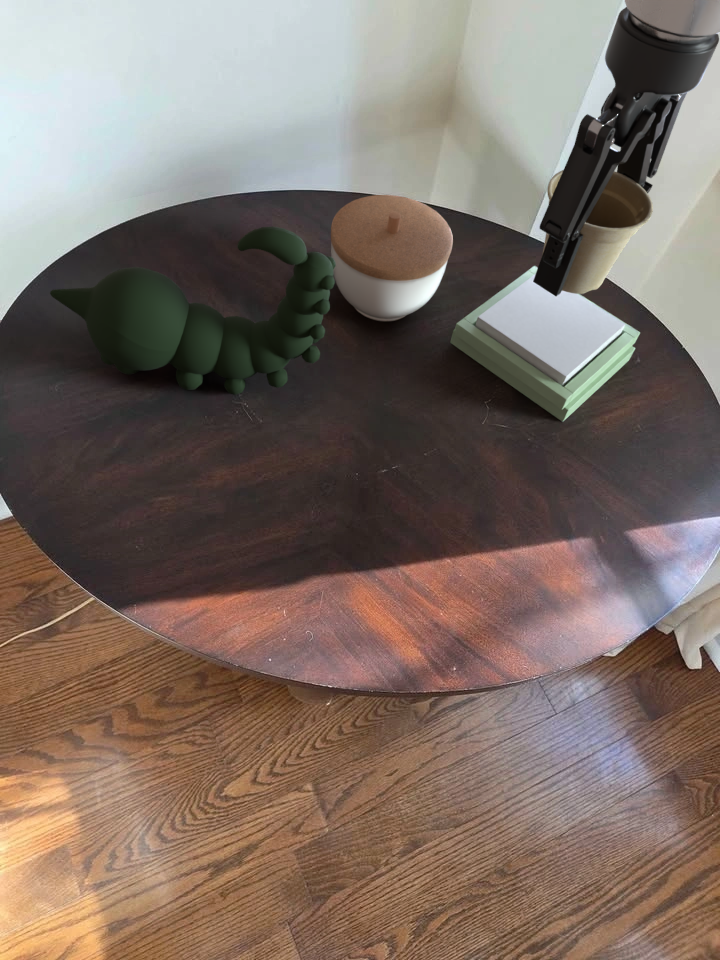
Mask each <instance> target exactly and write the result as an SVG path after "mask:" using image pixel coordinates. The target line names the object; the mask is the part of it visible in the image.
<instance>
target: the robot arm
mask: <svg viewBox="0 0 720 960" xmlns="http://www.w3.org/2000/svg"><path fill="white" fill-rule="evenodd" d="M624 4H625V6H626V7H624V8H622V10H620V12H619V13H618V16H617V18H616V22H615V23H614V27H613V30H612V33H611V36H610V38H609V41H608V44H607V48H606V50H605V54H604V63H605V67H606V68H607V70H608V71H609V73H610V74H611V76H612V78H613V81H614V87H613V88H612V90H611V92H610V93H609V94H608V95H607V96H606V98H605V100H604V102H603V104H602V106H601V109H600V115H599V116H598V117H597V118H596V117H595V116H593V115H591V114H588V113H587V114H585V115H584V117H583V118H582V119H581V121H580V123H579V126H578V129H577V133H576V137H575V141H574V145H573V147H572V149H571V152H570V153H569V156H568V158H567V160H566V164H565V165H564V168H563V169H562V170H563V172H562V175H561V177H560V179H559V182H558V184H557V186H556V189H555V191H554V193H553V196H552V198H551V200H550V203H549V202H548V205H547V208H546V210H545V212H544V215H543V217H542V220H541V222H540V224H539V230H540V231H542V232H544V233H545V234H546V233H547V234H549V238H548V240H547V243H546V246H545V249H544V248H543V249H544V252H543V251H542V254H543V255H541V258H540V260H539V263H538V266H537V268H538V269H537V272H536V275H535V278H534V280H533V282H534V283H536V284H537V285H539V286H540V287H542V288H543V289H545V290H547V291H548V292H550V293H551V294H553V295H554V296H558V295H559V294H560V293H561V291H562V289H563V286H564V283H565V281H566V278H567V276H568V273H569V271H570V268H571V266H572V263H573V261H574V258H575V255H576V253H577V250H578V248H579V245H580V243H581V240H582V238H583V235H582V234H580V231H581V229H582V228H583V226H584V224H585V222H586V220H587V219H588V217H589V215H590V213H591V212H592V210H593V208H594V206H595V204H596V203H597V201H598V199H599V197H600V196H601V194H602V192H603V190H604V189H605V187H606V185H607V183H608V181H609V180H610V178H611V176H612V174H613V173H614V171H615V172H618V173H620V174H623V175H625V176H627V177H628V178H630V179H632V180H634V181H635V182H636V183H638V184H639V185H640V186H641V187H642V188H643V189H644V190H645V191H646V192H647V193H648V194H649V193H650V192H651V190H652V188H653V184H652V183H650V182H649V181H647V178H649V179H652V178H653V177H655V176H656V175H657V173H658V169H659V168H660V167H659V166H660V165H661V162H662V159H663V156H664V154H665V150H666V149H667V145H668V143H669V141H670V137H671V135H672V132H673V129H674V126H675V124H676V121H677V118H678V117H679V116H678V115H679V114H680V110H681V108H682V105H683V102H684V101H685V98H686V96H687V95H688V93H689V92H691V91H693V90H694V89H696V87H698V86H699V85H700V84H701V82H702V80H703V78H704V75H705V73H706V71H707V69H708V66H709V64H710V63H711V60H712V57H713V55H714V54H715V51H716V49H717V47H718V45H719V42H720V36H719V33H720V0H624ZM613 145H614V146H616V147H617V148H620V150H618V149H615V148H613V147H612V146H613Z"/></svg>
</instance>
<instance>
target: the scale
mask: <svg viewBox="0 0 720 960" xmlns="http://www.w3.org/2000/svg"><path fill="white" fill-rule="evenodd" d="M537 269H538V266H536V265H533V266H532V267H531V268H530V269H528V270H526V271H525V272H523V274H521V275H520V276H519V277H516V279H515V280H513V281H512V282H510V283H509V284H508V285H507V286H505V287H504V288H502V289H500V290H499V292H497V293H496V294H494V295H493V296H491V297H490V298H489V299H488V300H486V301H485V302H483V303H482V304H481V305H480V306H478V307H476V308H475V309H474V310H473V311H471V312H470V313H469V314H467V315H466V316H465V317H463V318H461V319H460V320H459V321H457V322H456V323H455V328H454V329H453V330H452V334H451V337H450V344H451V345H453V346H454V347H455V348H457V349H458V350H459V351H461V352H463V353H464V354H465V355H467V356H468V357H470V358H471V359H473V360H474V361H475V362H476V363H478V364H480V365H481V366H482V367H484V368H485V369H486V370H488V371H490V372H491V373H493V374H494V375H495V376H496V377H498V378H499V379H501V380H503V381H504V382H505V383H507V384H508V385H509V386H510V387H513V388H514V389H515V390H516V391H518V392H519V393H521V394H523V395H524V396H525V397H526V398H528V399H529V400H531V401H532V402H533V403H535V404H537V405H538V406H539V407H541V408H542V409H544V410H545V411H546V412H548V413H549V414H551V415H552V416H553V417H555V418H556V419H557V420H559V421H560V422H562V423H563V422H565V421H566V420H567V419H568V418H569V417H570V416H571V415H572V414H573V413H575V411H576V410H577V409H578V408H579V407H581V405H583V404H584V403H585V402H586V401H587V400H588V399H589V398H590V397H592V395H593V394H594V393H596V392H597V391H598V390H599V389H600V388H601V387H602V386H604V384H605V383H607V382H608V381H609V380H610V379H611V378H612V377H613V376H614V375H615V374H616V373H618V372H619V370H621V368H623V367H624V366H625V365H626V364H627V363H628V362H629V361H630V360H631V358H632V356H633V354H634V352H635V350H636V347H635V346H634V345H635V344H636V342H637V340H638V338H639V336H640V334H641V332H640V331H638V330H637V329H636V328H634V327H633V326H631V325H629V324H627V323H626V322H624V321H623V320H621V319H620V318H618V317H617V316H615V315H613V314H612V313H611V312H608V311H607V310H605V309H604V308H602V307H601V306H599V305H597V304H596V303H595V302H593V301H591V300H589V299H588V298H586V297H585V296H583V295H582V294H578V295H580V296H581V297H583V298H584V299H586V300H588V301H589V302H591V303H592V304H594V305H596V306H597V307H599V308H600V309H602V310H603V311H605V312H607V313H608V314H610V315H611V316H613V317H615V318H616V319H618V320H619V321H621V322H622V323H624V324H625V326H624V328H623V330H622V332H621V334H620V335H619V336H618V337H617V338H616V339H615V340H614V341H613V342H612V343H610V344H609V345H608V346H607V347H606V348H605V349H604V350H603V351H601V352H600V353H599V354H598V355H597V356H596V357H595V358H594V359H593V360H591V361H590V362H589V363H588V364H587V365H586V366H585V367H584V368H582V369H581V370H580V371H579V372H578V373H577V374H576V375H575V376H573V377H572V378H571V379H570V380H569V381H568V382H567V383H566V384H564V385H563V386H561V385H560V384H558V383H557V382H555V381H554V380H552V379H551V378H549V377H548V376H547V375H545V374H544V373H542V372H541V371H539V370H538V369H536V368H535V367H533V366H532V365H531V364H529V363H528V362H526V361H525V360H523V359H522V358H520V357H519V356H517V355H516V354H514V353H513V352H512V351H510V350H509V349H507V348H506V347H504V346H503V345H501V344H500V343H498V342H497V341H496V340H494V339H493V338H491V337H490V336H488V335H487V334H485V333H484V332H482V331H481V330H479V329H478V328H477V327H475V325H476V322H477V318H478V316H480V315H481V314H482V313H484V312H485V311H486V310H488V309H489V308H491V307H492V306H493V305H495V304H496V303H497V302H499V301H500V300H501V299H503V298H504V297H505V296H507V295H508V294H509V293H511V292H512V291H513V290H515V289H516V288H517V287H519V286H520V285H521V284H523V283H524V282H525V281H527V280H528V279H529V278H531V277H532V276H533V275H535V274H536V272H537Z"/></svg>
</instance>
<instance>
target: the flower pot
mask: <svg viewBox="0 0 720 960" xmlns="http://www.w3.org/2000/svg"><path fill="white" fill-rule="evenodd" d="M563 170H564V169H562V170H559V171H558V172H556V173H555V174H554V175H553V176H552V177H551V178H550V180H549V182H548V185H547V189H546V191H547V198H548V204H549V203H550V200H551V198H552V196H553V193H554V191H555V189H556V186H557V184H558V182H559V179H560V177H561V175H562V172H563ZM653 213H654V205H653V200H652V198H651V196H650V195H649V193H647V192H646V191H645V190H644V189H643V188H642V187H641V186H640V185H639V184H638V183H636V182H635V181H634V180H632V179H630V178H628V177H627V176H625V175H623V174H620V173H618V172H617V171H616V170H615V171H614V173H613V174H612V176H611V178H610V180H609V181H608V183H607V185H606V187H605V189H604V190H603V192H602V194H601V196H600V197H599V199H598V201H597V203H596V204H595V206H594V208H593V210H592V212H591V213H590V215H589V217H588V219H587V220H586V222H585V224H584V226H583V228H582V229H581V231H580V234H582V235H583V238H582V240H581V243H580V245H579V248H578V250H577V253H576V255H575V258H574V261H573V263H572V266H571V268H570V271H569V273H568V276H567V278H566V281H565V283H564V286H563V289H562V291H565V292H569V293H575V294H580V295H584V294H586V293H588V292H591V291H596V290H598V289H599V288H600V287H601V286H602V284H603V283H604V281H605V279H606V277H607V276H608V274H609V273H610V271H611V269H613V266H614V265H615V263H616V261H617V260H618V258H619V257H620V256H621V254H622V252H623V250H624V249H625V247H626V246H627V244H628V243H629V241H630V239H631V238H632V237H633V236H634V235H635V234H637V232H638V231H639V230H640V229H641V228H642V227H643V226H644V225H646V224H647V223H648V222H649V221H650V219H651V217H652V215H653ZM548 238H549V234H547V233H546V232H545V237H544V243H543V249H542V255H543V252H544V249H545V246H546V243H547V240H548ZM542 255H541V256H542Z"/></svg>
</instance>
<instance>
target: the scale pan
mask: <svg viewBox="0 0 720 960" xmlns="http://www.w3.org/2000/svg"><path fill="white" fill-rule="evenodd" d="M535 275H536V274H535ZM535 275H533V276H532V277H531V278H529V279H528V280H527V281H525V282H524V283H523V284H521V285H520V286H519V287H517V288H516V289H515V290H513V291H512V292H511V293H509V294H508V295H507V296H505V297H504V298H503V299H501V300H500V301H499V302H497V303H496V304H495V305H493V306H492V307H491V308H489V309H488V310H486V311H485V312H484V313H482V314H481V315H480V316H478V318H477V322H476V325H475V327H477V328H478V329H479V330H481V331H482V332H484V333H485V334H487V335H488V336H490V337H491V338H493V339H494V340H496V341H497V342H498V343H500V344H501V345H503V346H504V347H506V348H507V349H509V350H510V351H512V352H513V353H514V354H516V355H517V356H519V357H520V358H522V359H523V360H525V361H526V362H528V363H529V364H531V365H532V366H533V367H535V368H536V369H538V370H539V371H541V372H542V373H544V374H545V375H547V376H548V377H549V378H551V379H552V380H554V381H555V382H557V383H558V384H560V385H561V386H563V385H564V384H566V383H567V382H568V381H569V380H570V379H571V378H572V377H573V376H575V375H576V374H577V373H578V372H579V371H580V370H581V369H582V368H584V367H585V366H586V365H587V364H588V363H589V362H590V361H591V360H593V359H594V358H595V357H596V356H597V355H598V354H599V353H600V352H601V351H603V350H604V349H605V348H606V347H607V346H608V345H609V344H610V343H612V342H613V341H614V340H615V339H616V338H617V337H618V336H619V335H620V334H621V332H622V330H623V328H624V326H625V324H624V323H625V322H624V323H622V322H621V321H622V320H621V321H619V320H618V319H619V318H618V319H616V318H617V317H616V316H615V317H616V318H615V317H613V316H614V315H613V316H611V315H610V314H611V313H610V314H608V313H609V312H608V311H607V312H608V313H607V312H605V311H606V310H605V311H603V310H602V309H603V308H602V309H600V308H601V307H600V306H599V307H600V308H599V307H597V306H598V305H597V304H596V305H597V306H596V305H594V304H595V303H594V304H592V303H591V302H592V301H591V302H589V301H590V300H589V299H588V300H589V301H588V300H586V299H587V298H586V299H584V298H583V297H584V296H583V297H581V296H582V295H581V294H580V295H581V296H580V295H578V294H575V293H569V292H565V291H561V293H560V294H559V295H558V296H554V295H553V294H551V293H550V292H548V291H547V290H545V289H543V288H542V287H540V286H539V285H537V284H536V283H534V282H533V280H534V278H535Z"/></svg>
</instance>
